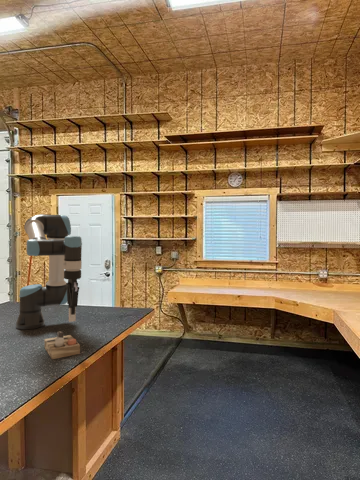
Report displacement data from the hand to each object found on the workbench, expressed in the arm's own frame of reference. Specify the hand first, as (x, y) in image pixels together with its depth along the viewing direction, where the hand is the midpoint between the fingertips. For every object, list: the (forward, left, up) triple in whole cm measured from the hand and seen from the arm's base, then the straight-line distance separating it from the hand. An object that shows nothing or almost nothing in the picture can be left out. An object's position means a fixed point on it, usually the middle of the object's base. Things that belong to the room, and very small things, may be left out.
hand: (72, 320), depth 146 cm
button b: (0, -6, -11) cm, 12 cm away
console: (-4, -4, -14) cm, 15 cm away
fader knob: (-8, -3, -10) cm, 13 cm away
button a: (0, 0, -12) cm, 12 cm away
